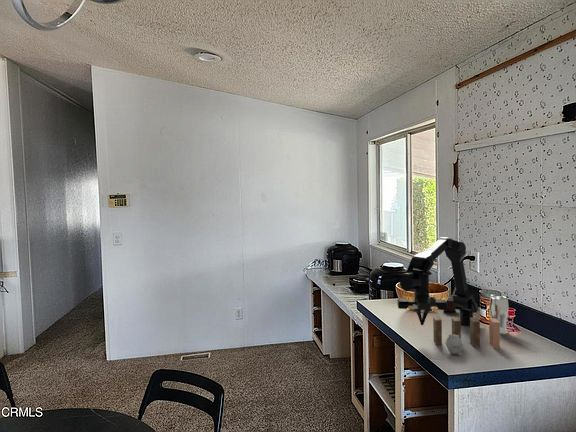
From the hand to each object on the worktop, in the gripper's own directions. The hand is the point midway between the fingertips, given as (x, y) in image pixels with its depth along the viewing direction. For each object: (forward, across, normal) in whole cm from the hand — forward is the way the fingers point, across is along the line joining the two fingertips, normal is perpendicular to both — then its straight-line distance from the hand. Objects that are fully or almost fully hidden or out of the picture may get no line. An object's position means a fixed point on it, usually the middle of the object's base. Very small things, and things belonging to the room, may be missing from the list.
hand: (422, 325), depth 159 cm
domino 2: (+7, +13, 0) cm, 15 cm away
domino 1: (+7, +6, 0) cm, 9 cm away
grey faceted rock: (+7, +10, -10) cm, 16 cm away
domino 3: (+7, +20, 0) cm, 21 cm away
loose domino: (+7, +27, 0) cm, 28 cm away
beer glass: (+7, +33, +16) cm, 38 cm away
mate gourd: (+7, +19, +44) cm, 48 cm away
